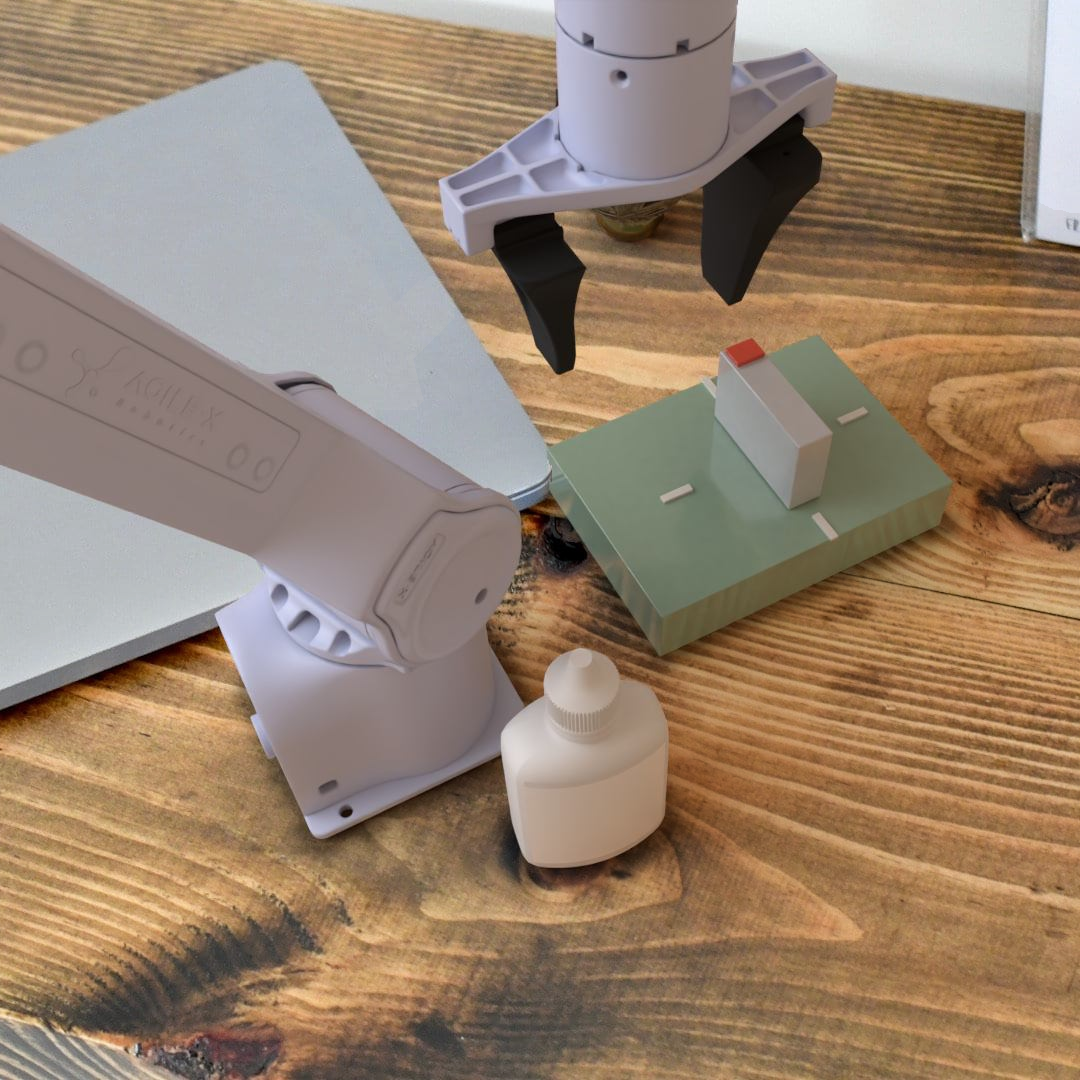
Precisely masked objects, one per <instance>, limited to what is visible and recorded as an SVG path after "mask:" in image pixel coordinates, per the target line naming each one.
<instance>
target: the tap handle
mask: <svg viewBox="0 0 1080 1080" xmlns="http://www.w3.org/2000/svg"><path fill="white" fill-rule="evenodd" d="M767 355H768V354H766V352H765V351H764V349H762V347H761V346H760V345H759V344H758V343H757V341H756V340H755V339H754V338H753V337H750V338H748V339H745V340H743V341H740V342H738V343H736V344H733V345H730V346H728V347H726V348H724V349H722V350H720V351H719V356H718V368H717V376H718V378H717V390H716V401H715V412H714V415H715V417H716V418H717V419H718V421H719V422H720V423H721V424H722V426H723V427H724V428H725V429H726V431H727V432H728V433H729V435H730V436H731V437H732V438H733V440H734V441H735V442H736V443H737V445H738V446H739V447H740V448H741V450H742V451H743V452H744V454H745V455H746V456H747V457H748V459H749V460H750V461H751V462H752V464H753V465H754V466H755V467H756V469H757V470H758V471H759V473H760V474H761V475H762V476H763V478H764V479H765V480H766V481H767V483H768V484H769V485H770V486H771V488H772V489H773V490H774V492H775V493H776V494H777V495H778V497H779V498H780V499H781V500H782V502H783V503H784V504H785V505H786V507H787V508H788V509H792V508H794V507H797V506H799V505H801V504H803V503H805V502H808V501H810V500H812V499H814V498H817V497H819V496H820V495H821V492H822V487H823V482H824V477H825V472H826V467H827V462H828V457H829V452H830V447H831V442H832V437H833V433H832V431H831V430H830V429H829V428H828V426H827V425H826V424H825V423H824V422H823V421H822V419H821V418H820V417H819V416H818V415H817V414H816V412H815V411H814V410H813V409H812V408H811V407H810V405H809V404H808V403H807V402H806V401H805V400H804V398H803V397H802V396H801V395H800V394H799V393H798V391H797V390H796V389H795V388H794V387H793V386H792V384H791V383H790V382H789V381H788V380H787V379H786V377H785V376H784V375H783V374H782V373H781V372H780V370H779V369H778V368H777V367H776V366H775V365H774V363H773V362H772V361H771V360H770V359H769V358H768V356H767Z"/></svg>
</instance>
